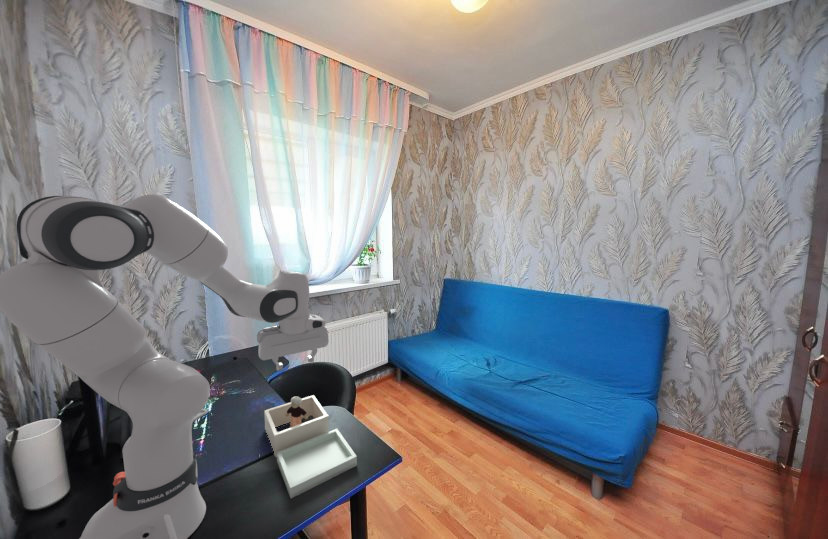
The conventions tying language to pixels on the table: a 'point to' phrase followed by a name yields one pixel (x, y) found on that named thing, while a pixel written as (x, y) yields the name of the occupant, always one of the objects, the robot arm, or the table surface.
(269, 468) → the table surface
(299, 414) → the grandmother figurine
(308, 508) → the table surface
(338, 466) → the sage tray
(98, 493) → the table surface
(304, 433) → the ceramic holder
